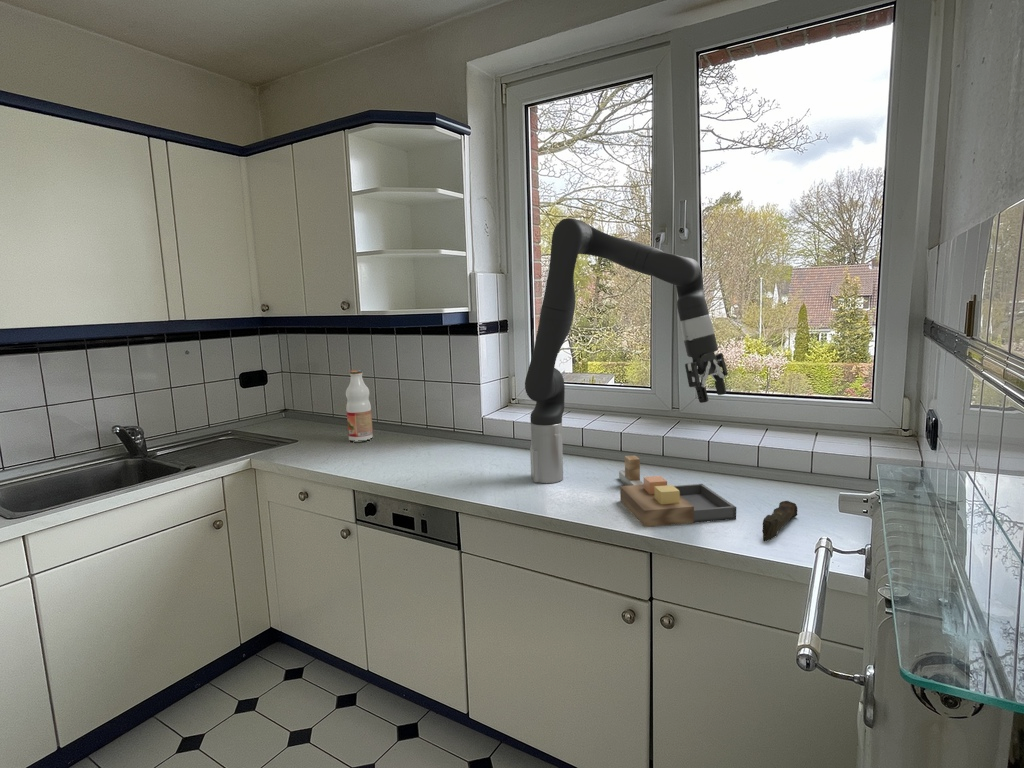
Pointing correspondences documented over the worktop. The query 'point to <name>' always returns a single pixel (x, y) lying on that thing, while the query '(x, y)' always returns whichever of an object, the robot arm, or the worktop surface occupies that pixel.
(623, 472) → the oak scraper
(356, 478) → the worktop surface
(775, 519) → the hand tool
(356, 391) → the fruit juice
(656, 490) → the yellow block
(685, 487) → the box
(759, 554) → the worktop surface
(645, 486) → the salmon orange block
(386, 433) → the worktop surface
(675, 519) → the walnut slab
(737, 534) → the worktop surface
